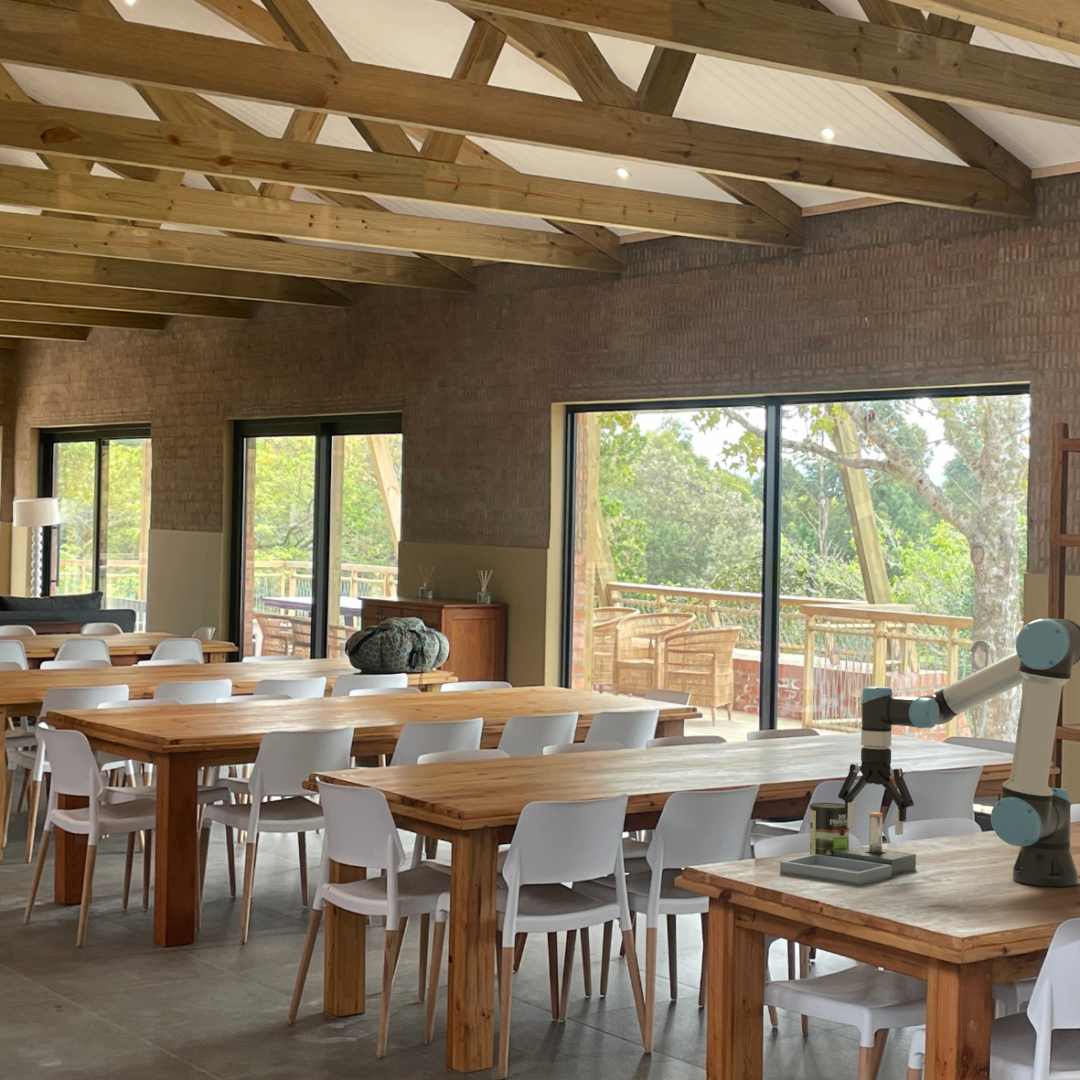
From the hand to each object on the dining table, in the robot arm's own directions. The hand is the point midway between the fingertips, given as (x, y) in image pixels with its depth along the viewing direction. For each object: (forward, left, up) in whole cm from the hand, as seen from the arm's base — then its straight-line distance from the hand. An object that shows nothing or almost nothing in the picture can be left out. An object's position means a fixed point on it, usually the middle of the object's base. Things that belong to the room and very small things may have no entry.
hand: (874, 831), depth 379 cm
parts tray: (+2, +16, -10) cm, 19 cm away
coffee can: (+16, -4, -10) cm, 19 cm away
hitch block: (0, 0, -10) cm, 10 cm away
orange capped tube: (0, 0, -10) cm, 10 cm away
